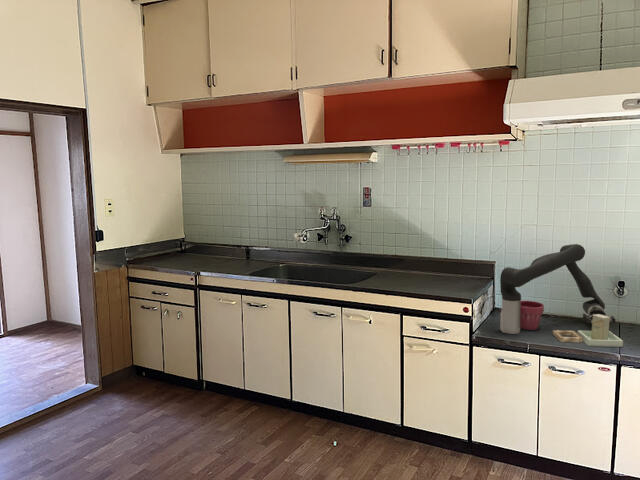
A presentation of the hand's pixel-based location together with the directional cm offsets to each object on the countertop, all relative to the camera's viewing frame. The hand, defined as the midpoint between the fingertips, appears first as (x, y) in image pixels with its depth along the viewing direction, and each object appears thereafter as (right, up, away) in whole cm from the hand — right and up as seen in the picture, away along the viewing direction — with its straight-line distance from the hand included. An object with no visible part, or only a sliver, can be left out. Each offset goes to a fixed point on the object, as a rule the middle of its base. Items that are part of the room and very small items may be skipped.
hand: (600, 322), depth 251 cm
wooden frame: (-13, -8, +5) cm, 17 cm away
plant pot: (-25, -6, +24) cm, 35 cm away
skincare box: (0, -9, 0) cm, 9 cm away
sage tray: (0, -9, 0) cm, 9 cm away
